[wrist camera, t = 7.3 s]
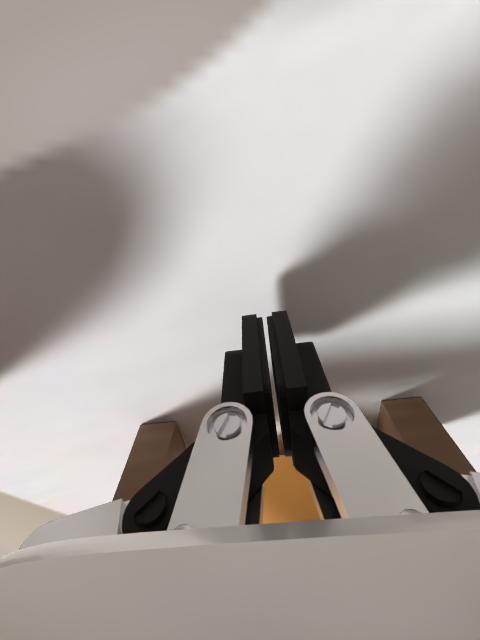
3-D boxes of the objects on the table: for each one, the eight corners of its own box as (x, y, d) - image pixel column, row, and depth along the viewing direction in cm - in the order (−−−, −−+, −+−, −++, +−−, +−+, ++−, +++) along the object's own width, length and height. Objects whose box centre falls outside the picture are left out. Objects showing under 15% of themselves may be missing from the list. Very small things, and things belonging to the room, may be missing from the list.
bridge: (140, 424, 16) (24, 738, 7) (421, 397, 14) (669, 733, 6) (156, 457, 17) (76, 747, 9) (411, 434, 16) (599, 744, 8)
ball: (239, 607, 15) (239, 483, 19) (358, 605, 14) (328, 478, 19) (219, 585, 11) (225, 438, 16) (379, 581, 10) (335, 430, 15)
